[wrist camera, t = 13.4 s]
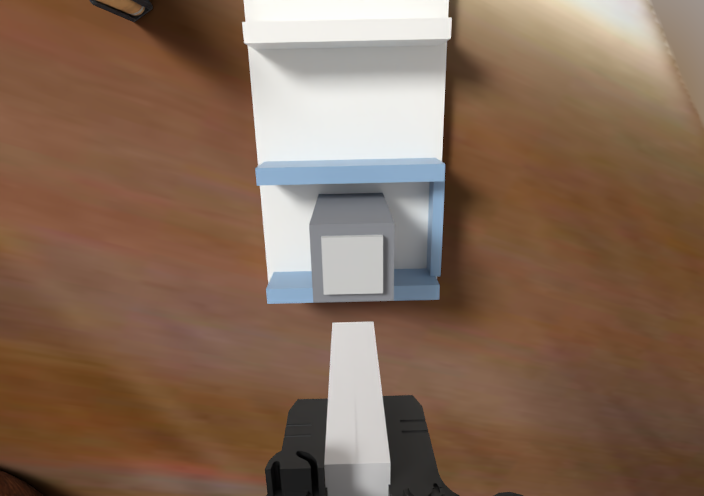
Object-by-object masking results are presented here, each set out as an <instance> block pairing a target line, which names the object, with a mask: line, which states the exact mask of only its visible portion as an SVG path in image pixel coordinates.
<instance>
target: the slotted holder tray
mask: <svg viewBox="0 0 704 496" xmlns="http://www.w3.org/2000/svg"><path fill="white" fill-rule="evenodd" d="M448 7H449V0H244V9H245V20H246V22H242V25H243V36H244V43H245V44H246V45H248V54H249V66H250V77H251V89H252V100H253V111H254V123H255V134H256V146H257V157H258V167H256V168H255V170H256V181H257V186H260V191H261V203H262V214H263V226H264V237H265V249H266V260H267V271H268V283H269V284H268V286H267V288H266V292H267V304H275V303H313V289H312V270H311V252H310V233H309V223H310V220H311V217H312V214H313V211H314V207H315V204H316V201H317V198H318V195H319V194H348V193H383V194H384V197H385V200H386V202H387V205H388V207H389V210H390V212H391V215H392V218H393V220H394V223H395V228H394V301H403V300H439V291H440V284H439V283H438V281H437V276H441V256H442V234H443V212H444V189H445V163H443V162H442V148H443V125H444V101H445V78H446V54H447V41H448V40H450V39H451V24H452V17H451V18H448Z"/></svg>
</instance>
